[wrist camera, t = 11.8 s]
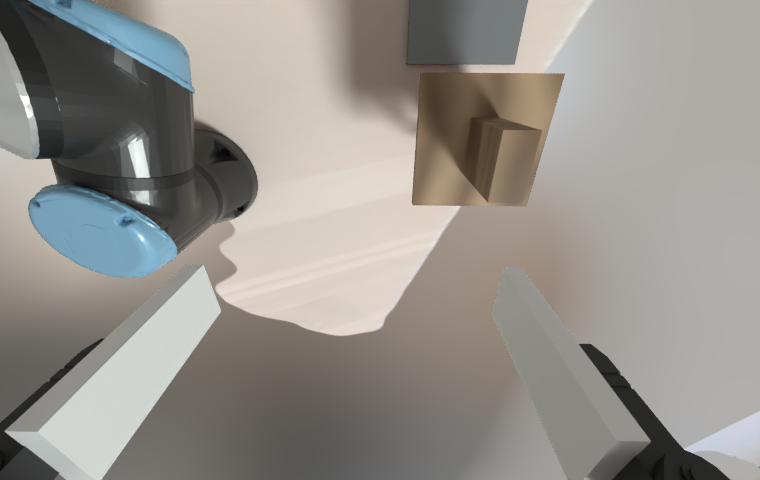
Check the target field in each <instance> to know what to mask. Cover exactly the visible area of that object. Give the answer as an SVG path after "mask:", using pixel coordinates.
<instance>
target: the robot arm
mask: <svg viewBox="0 0 760 480" xmlns="http://www.w3.org/2000/svg"><path fill="white" fill-rule="evenodd" d="M193 93H194V94H195V90H194V88H193V87H192V82H191V71H190V61H189V56H188V53H187V51H186V49H185V47H184V46H183V45H182V44H181V42H180V41H179V40H178V39H176V38H175V37H174V36H172V35H170V34H168V33H166V32H164V31H162V30H160V29H157V28H155V27H152V26H150V25H148V24H145V23H143V22H140V21H138V20H136V19H133V18H131V17H128V16H126V15H123V14H121V13H119V12H116V11H114V10H111V9H109V8H106V7H104V6H101V5H99V4H96V3H94V2H91V1H89V0H0V147H1V148H3V149H5V150H7V151H9V152H11V153H13V154H16V155H17V156H20V157H22V158H24V159H51V162H52V165H53V168H54V172H55V175H56V179H57V184H56V185H50V186H46V187H44V188H42V189H41V190H40V192H38V193H37V194H36V195H35V197H34V198H32V199H31V200H30V202H29V205H28V210H29V216H30V219H31V222H32V224H33V226H34V227H35V229H36V230H37V231H38V233H39V234H40V235H41V237H42V238H44V240H45V241H46V242H47V243H48V244H49V245H51V246H52V247H53V248H54V249H55V250H57V251H58V252H59V253H61V254H62V255H63V256H65V257H67V258H69V259H71V260H72V261H73V262H75V263H77V264H79V265H81V266H83V267H85V268H87V269H90V270H92V271H95V272H98V273H101V274H105V275H109V276H114V277H121V278H134V277H141V276H145V275H148V274H150V273H152V272H154V271H156V270H157V269H158V268H160V267H161V266H163V265H164V264H165V263H168V262H170V261H172V260H173V259H175V257H176V256H177V255H178V254H179V253H180V252H181V251H182V250H184V249H185V248H186V247H187V246H188V245H189V244H190V243H192V242H193V241H194V240H195V239H196V238H197V237H199V236H200V235H201V234H202V233H203V232H204V231H205V230H207V229H208V228H209V227H210V226H211V225H213V224H215V223H220V222H224V221H228V220H232V219H234V218H236V217H238V216H240V215H242V214H243V213H244V212H245V211H246V210H247V209H248V208H249V207H250V206H251V205H252V204H253V202H254V201H255V198H256V195H257V191H258V181H257V176H256V172H255V170H254V167H253V165H252V163H251V161H250V160H249V158H248V157H247V156H246V154H245V153H244V152H243V151H242V150H241V149H240V148H239V147H238V146H237V145H236V144H235V143H233V142H232V141H231V140H229V139H227V138H226V137H224V136H222V135H220V134H217V133H214V132H211V131H206V130H194V111H193ZM220 312H221V310H220V307H219V304H218V302H217V299H216V297H215V294H214V291H213V289H212V286H211V283H210V281H209V278H208V276H207V273H206V270H205V268H204V265H185V266H184V267H183V268H182V269H181V270H179V271H178V272H177V273H176V274H175V275H174V276H173V277H172V278H171V279H170V280H169V281H168V282H166V283H165V284H164V285H163V286H162V287H161V288H160V289H159V290H158V291H157V292H155V293H154V294H153V295H152V296H151V297H150V298H149V299H148V300H147V301H146V302H145V303H143V304H142V305H141V306H140V307H139V308H138V309H137V310H136V311H135V312H134V313H133V314H131V316H129V317H128V318H127V319H126V320H125V321H124V322H123V323H122V324H121V325H119V326H118V327H117V328H116V329H115V330H114V331H113V332H112V333H111V334H110V335H109V336H108V337H106V338H105V339H100V340H98V341H97V342H95V343H93V344H92V345H90V346H89V347H87V348H85V349H84V350H82V351H81V352H80V353H79V354H77V356H75V357H74V358H73V359H72V360H71V361H70V362H69V363H67V364H66V365H65V367H64V369H60V370H59V371H58V372H57V373H56V374H55V375H54V376H53V377H51V378H50V381H49V382H46V383H45V384H44V385H42V386H41V387H40V388H39V389H38V390H37V391H36V392H35V393H34V394H32V395H31V396H30V397H29V398H28V399H27V400H26V401H24V402H23V403H22V404H21V405H20V406H19V407H18V408H16V409H15V410H14V411H13V412H12V413H11V414H10V415H9V416H7V417H6V418H5V419H4V420H3V421H2V422H1V423H0V480H54V479H55V477H56V476H57V475H58V474H60V475H61V476H63V477H64V478H65V479H66V480H101V479H102V478H103V476H104V475H105V474H106V472H107V471H108V469H109V468H110V466H111V465H112V464H113V462H114V461H115V459H116V458H117V457H118V455H119V454H120V453H121V451H122V450H123V448H124V447H125V445H126V444H127V443H128V441H129V440H130V438H131V437H132V436H133V434H134V433H135V431H136V430H137V429H138V427H139V426H140V424H141V423H142V422H143V420H144V419H145V417H146V416H147V414H148V413H149V412H150V410H151V409H152V408H153V406H154V405H155V403H156V402H157V401H158V399H159V397H160V396H161V395H162V394H163V392H164V391H165V389H166V388H167V386H168V385H169V384H170V382H171V381H172V379H173V378H174V377H175V375H176V374H177V372H178V371H179V370H180V368H181V367H182V365H183V364H184V363H185V361H186V360H187V358H188V357H189V356H190V354H191V353H192V351H193V350H194V349H195V347H196V346H197V344H198V343H199V342H200V340H201V339H202V337H203V336H204V335H205V333H206V332H207V330H208V329H209V328H210V326H211V325H212V323H213V322H214V321H215V319H216V318H217V316H218V315H219V314H220ZM491 315H492V317H493V320H494V322H495V324H496V326H497V328H498V330H499V332H500V335H501V337H502V339H503V341H504V343H505V345H506V348H507V350H508V352H509V354H510V356H511V358H512V361H513V363H514V365H515V367H516V369H517V371H518V373H519V375H520V378H521V380H522V382H523V384H524V386H525V389H526V391H527V393H528V395H529V397H530V399H531V401H532V403H533V406H534V408H535V410H536V412H537V414H538V417H539V419H540V421H541V423H542V425H543V427H544V430H545V432H546V434H547V436H548V438H549V440H550V443H551V445H552V447H553V449H554V451H555V453H556V455H557V458H558V460H559V462H560V464H561V466H562V468H563V471H564V473H565V475H566V477H567V479H568V480H730V479H729V478H727V477H726V476H725V475H724V474H723V473H722V472H721V471H720V470H718V468H717V467H715V466H714V465H712V464H711V463H709V462H707V461H706V460H705V459H703V458H702V457H699V456H697V455H695V454H693V453H690V452H688V451H685V450H684V449H683V448H682V447H681V446H680V445H679V444H678V443H677V442H676V440H675V439H674V438H673V437H672V436H671V434H670V433H669V432H668V431H667V429H666V428H665V427H664V426H663V424H662V423H661V422H660V421H659V420H658V418H657V417H656V416H655V415H654V413H653V412H652V411H651V410H650V409H649V407H648V406H647V405H646V404H645V402H644V401H643V400H642V399H641V398H640V396H639V395H638V394H637V393H636V391H635V390H634V389H632V388H631V385H630V384H629V383H628V382H627V380H626V379H625V378H624V377H623V376H621V375H620V372H619V371H618V369H617V368H616V367H615V366H614V364H613V363H612V362H611V361H610V360H609V358H608V357H607V356H605V355H604V354H603V353H601V352H600V351H599V350H598V349H597V348H595V347H594V346H593V345H591V344H578V343H577V341H576V340H575V339H574V337H573V336H572V335H571V333H570V332H569V331H568V329H567V328H566V327H565V326H564V324H563V323H562V321H561V320H560V319H559V317H558V316H557V314H556V313H555V312H554V310H553V309H552V308H551V307H550V305H549V304H548V302H547V301H546V300H545V299H544V297H543V296H542V294H541V293H540V292H539V290H538V289H537V288H536V286H535V285H534V284H533V282H532V281H531V280H530V279H529V277H528V276H527V274H526V273H525V272H524V270H523V269H522V268H504V270H503V274H502V278H501V281H500V285H499V288H498V292H497V296H496V299H495V302H494V306H493V310H492V313H491Z"/></svg>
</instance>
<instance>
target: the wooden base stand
mask: <svg viewBox="0 0 760 480" xmlns="http://www.w3.org/2000/svg"><path fill="white" fill-rule="evenodd" d="M564 75H565V74H531V73H421V76H420V91H419V105H418V120H417V135H416V149H415V164H414V179H413V193H412V204H413V205H450V206H527V202H528V199H529V195H530V192H531V189H532V185H533V181H534V178H535V175H536V171H537V168H538V164H539V161H540V158H541V154H542V151H543V147H544V144H545V140H546V137H547V133H548V130H549V126H550V123H551V120H552V116H553V113H554V109H555V106H556V103H557V99H558V96H559V92H560V89H561V86H562V82H563V79H564Z"/></svg>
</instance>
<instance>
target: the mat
mask: <svg viewBox="0 0 760 480" xmlns="http://www.w3.org/2000/svg"><path fill="white" fill-rule="evenodd" d="M527 2H528V0H410V7H409V29H408V51H407V64H498V65H513V64H515V60H516V55H517V50H518V45H519V41H520V36H521V31H522V26H523V22H524V17H525V12H526V7H527Z"/></svg>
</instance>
